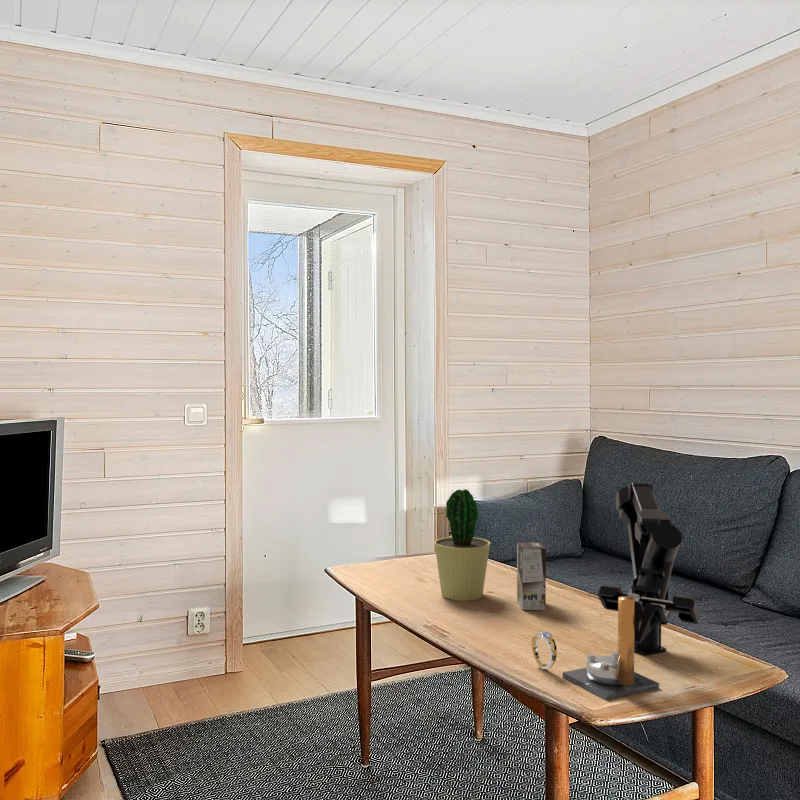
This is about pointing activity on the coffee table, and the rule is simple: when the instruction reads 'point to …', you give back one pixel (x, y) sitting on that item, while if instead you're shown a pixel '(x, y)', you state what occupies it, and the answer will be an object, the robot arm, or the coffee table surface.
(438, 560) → the potted cactus
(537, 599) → the coffee box
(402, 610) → the coffee table surface
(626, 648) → the brown rod on base
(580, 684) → the plate
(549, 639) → the ring
